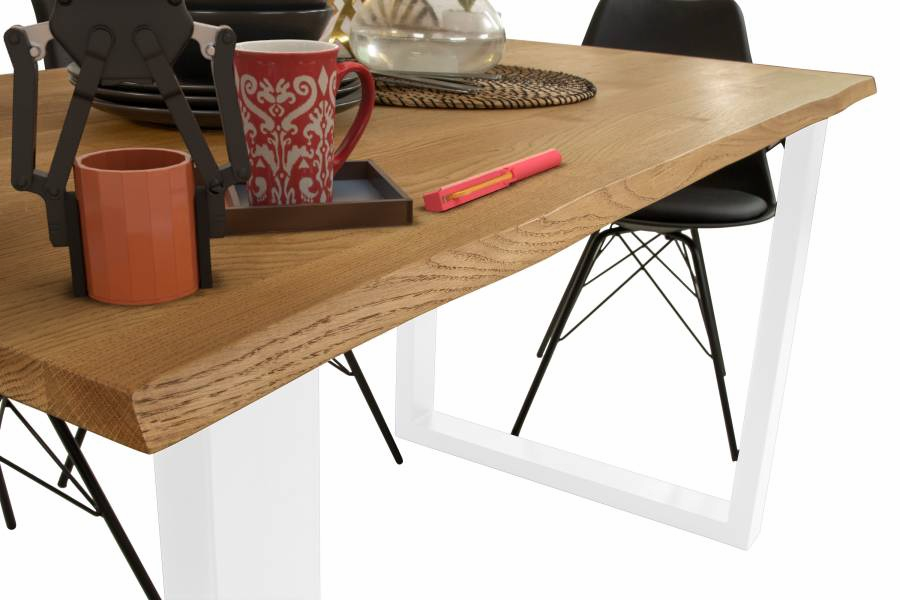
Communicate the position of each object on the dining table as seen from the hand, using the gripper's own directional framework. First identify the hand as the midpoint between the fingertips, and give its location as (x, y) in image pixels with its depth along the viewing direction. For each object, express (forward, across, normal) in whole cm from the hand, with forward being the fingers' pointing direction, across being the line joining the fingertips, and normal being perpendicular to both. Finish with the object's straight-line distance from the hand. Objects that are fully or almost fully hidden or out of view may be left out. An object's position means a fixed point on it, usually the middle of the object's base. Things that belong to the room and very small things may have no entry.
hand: (144, 287), depth 68 cm
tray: (0, -9, -19) cm, 21 cm away
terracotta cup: (0, 0, 0) cm, 0 cm away
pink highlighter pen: (+1, -33, -23) cm, 40 cm away
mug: (0, -14, -19) cm, 24 cm away
